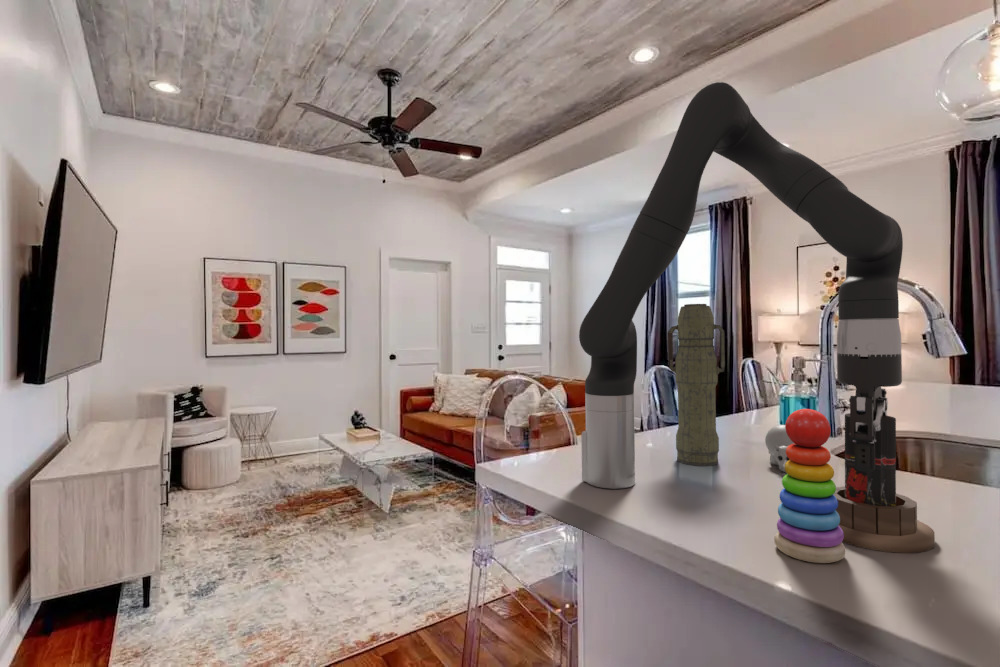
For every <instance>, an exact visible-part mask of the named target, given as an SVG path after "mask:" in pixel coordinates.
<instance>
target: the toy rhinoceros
mask: <svg viewBox="0 0 1000 667" xmlns="http://www.w3.org/2000/svg"><path fill="white" fill-rule="evenodd" d="M764 441H765V446H766V448H767V450H768V454H769V462H770V463H771V464H772V465H773V466H778V468H779V470H780V471H781V472H783V473H786V471H785V464H786V462H787V461H789V460H790V459H789V458H788V457H787V455H786V449H787V447H788V446H789V445H791V444H795V443H794V442H792V441H791V439H790V438H789V437H788V435H787V433H786V429H785V424H777V425H774V426H772V427H771V428H770V429H769V430H768V431H767V433H766V435H765V439H764ZM786 474H787V473H786Z"/></svg>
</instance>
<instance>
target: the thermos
mask: <svg viewBox="0 0 1000 667" xmlns="http://www.w3.org/2000/svg"><path fill="white" fill-rule="evenodd" d="M716 329H718V331H719V334H720V335H719V339H720V341H719V342H720V346H719V348H720V351H719V352H720V353H719V354H720V366H718V358H717V355H716V352H715V345H714V339H715V330H716ZM675 330H676V331H677V339H678V346H677V353H676V356H675V359H674V345H673V344H674V343H673V342H674V340H673V335H674V334H673V333H674V331H675ZM725 338H726V337H725V330H724V329H723V328H722V326H721V325H720V324H717V325H716V324H715V317H714V314H713V311H712V308H711V306H710V305H707V303H690V304H689V303H688V304H684V306H681V307H680V309H679V312H678V317H677V325H675V326H674V325H672V326H671V327H670V329H669V330H668V332H667V348H668V349H667V350H668V352H667V353H668V369H669V370H670V371H671V372H673V373H674V374H675V383H676V385H677V416H678V418H677V420H678V425H677V426H678V428H677V430H676V434H675V449H676V453H677V454H676V455H677V457H676V461H677V462H679V463H681V464H684V465H689V466H698V467H709V466H710V467H711V466H715V465H718V464H719V455H718V454H719V452H720V438H719V435H718V432H717V421H716V420H717V412H716V411H717V410H716V409H717V407H716V406H717V405H716V404H717V403H716V397H717V396H716V386H718V383H719V381H718V379H719V378H718V377H719V376H718V375H719V374H720V373H724V372H725V368H726V355H725V354H726V353H725V352H726V349H725V344H726V341H725ZM674 361H675V364H674ZM674 365H675V366H674Z"/></svg>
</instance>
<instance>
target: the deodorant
mask: <svg viewBox="0 0 1000 667" xmlns="http://www.w3.org/2000/svg"><path fill="white" fill-rule="evenodd" d="M875 420H876V419H873V421H875ZM859 432H866V433H868V430H864V429H860V430H859ZM849 434H850V412H849V413H845V414H844V487H845V499H848V500H851V501H854V502H857V503H863V504H868V505H874V506H891V507H893V506H896V494H897V454H896V453H897V441H896V440H897V419H896V417H894V416H891V415H887V416H882V420H881V430H880V431H877V432H876V442H875V470H874V471H873V472H864V471H858V470H856V468H855V443H853V440H851V439H850V437H849Z"/></svg>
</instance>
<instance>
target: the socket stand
mask: <svg viewBox="0 0 1000 667" xmlns="http://www.w3.org/2000/svg"><path fill="white" fill-rule="evenodd" d="M833 495H834V496H835V497H836V499H837V501H838V507H837V509H836V510H835V511H836V512H837V513H838V514H839V516H840V523H839V525H838V526H839V527H840V528H841V529H842V530H843V533H844V538H843V541H842V543H843V544H846V545H847V544H848V545H851V546H854V547H855V546H856V547H859V548H864V549H867V550H874V551H879V552H880V551H881V552H887V553H898V554H914V553H923V552H928V551H930V550H932V549H933V548H934V547H935V546H936V545H935V544H936V543H935V542H936V541H935V539H936V538H935V531H934V529H933V528H932V527H931V526H929V525H928V524H926V523H924V522H923V521H920V520H918V506H917V505H918V502H917V501H915V500H914V499H912V498H910V497H908V496H906V495H903V494H899V493H896V506H893V507H891V506H874V505H868V504H863V503H857V502H854V501H851V500H848V499H845V486H836V491H835V493H834V494H833Z"/></svg>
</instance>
